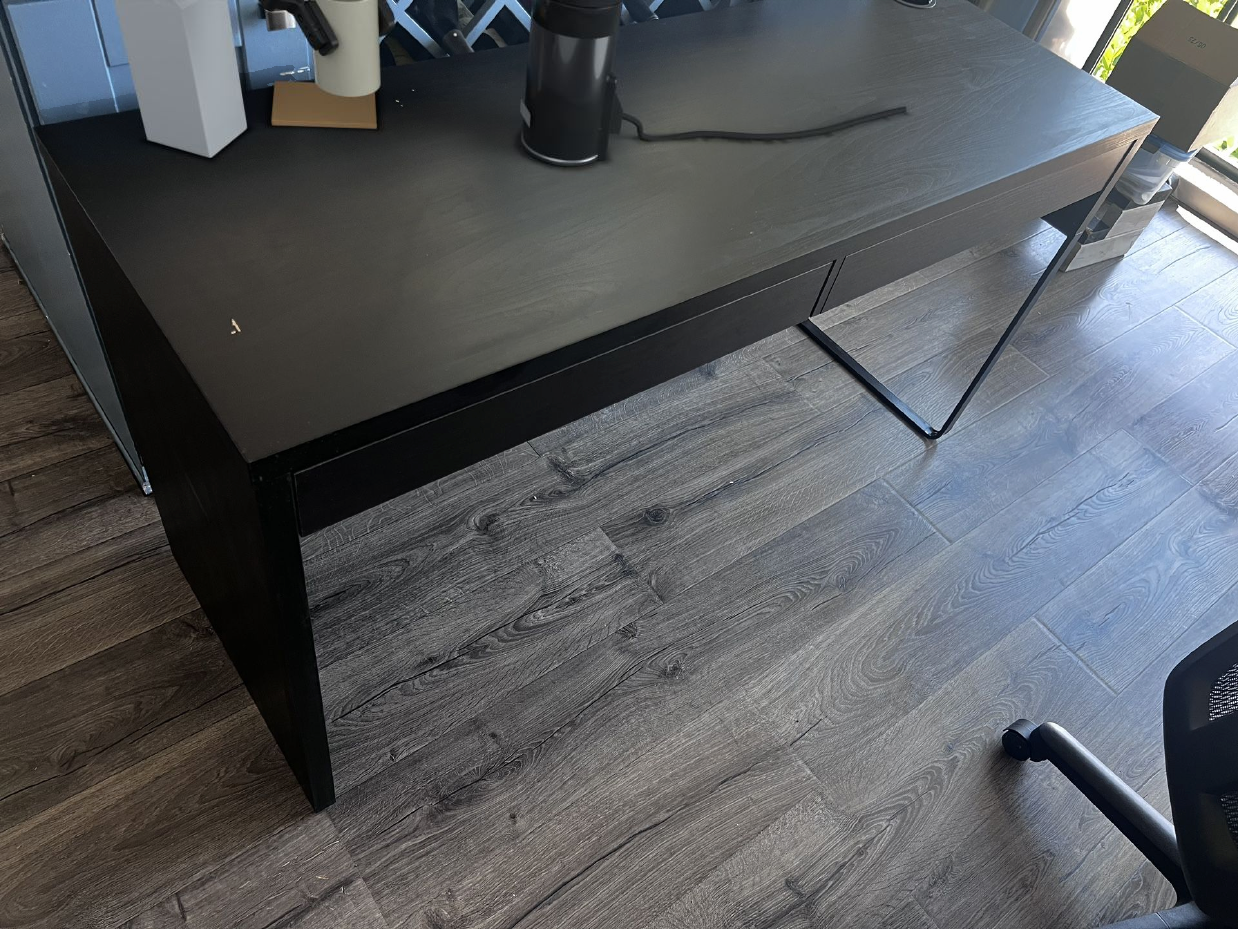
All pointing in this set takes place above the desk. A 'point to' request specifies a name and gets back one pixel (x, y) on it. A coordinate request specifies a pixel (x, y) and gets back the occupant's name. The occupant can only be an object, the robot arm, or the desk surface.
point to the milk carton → (184, 72)
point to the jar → (350, 49)
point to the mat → (320, 107)
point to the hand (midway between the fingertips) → (359, 40)
